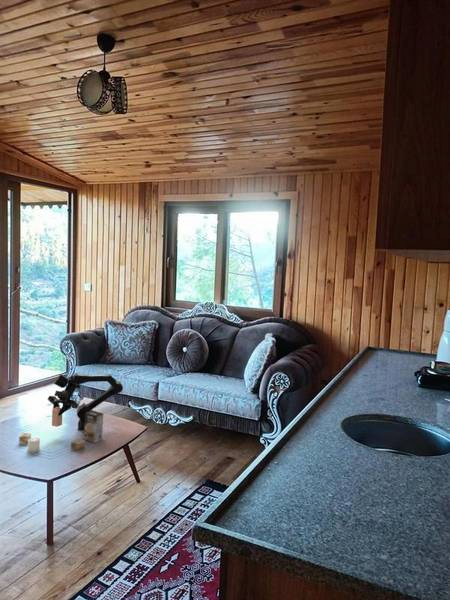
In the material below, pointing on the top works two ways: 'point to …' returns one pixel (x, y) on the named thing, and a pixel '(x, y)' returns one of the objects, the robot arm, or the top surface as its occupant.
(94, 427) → the coffee box
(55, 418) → the terracotta brick
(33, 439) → the cream jar
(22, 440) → the oak block
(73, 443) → the walnut block
